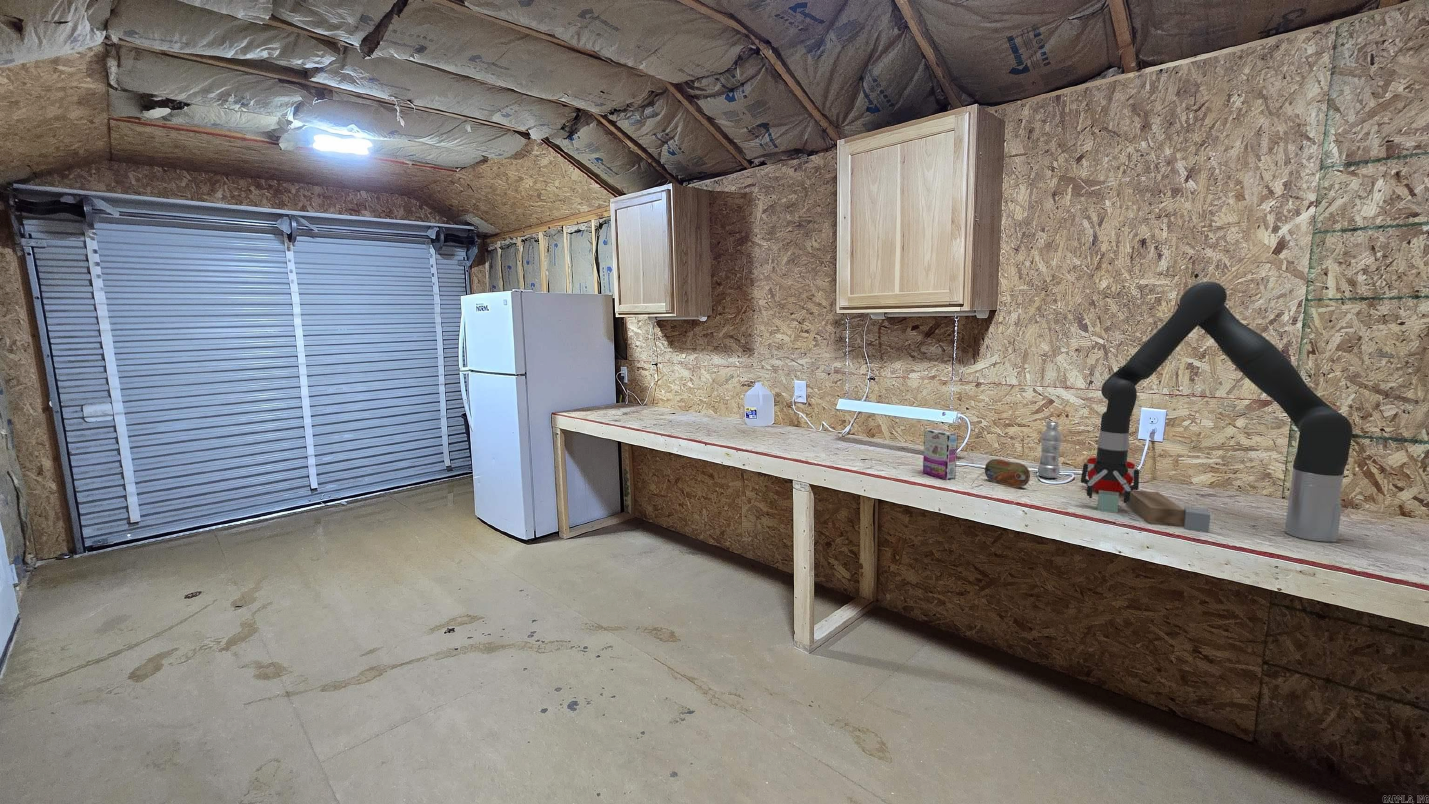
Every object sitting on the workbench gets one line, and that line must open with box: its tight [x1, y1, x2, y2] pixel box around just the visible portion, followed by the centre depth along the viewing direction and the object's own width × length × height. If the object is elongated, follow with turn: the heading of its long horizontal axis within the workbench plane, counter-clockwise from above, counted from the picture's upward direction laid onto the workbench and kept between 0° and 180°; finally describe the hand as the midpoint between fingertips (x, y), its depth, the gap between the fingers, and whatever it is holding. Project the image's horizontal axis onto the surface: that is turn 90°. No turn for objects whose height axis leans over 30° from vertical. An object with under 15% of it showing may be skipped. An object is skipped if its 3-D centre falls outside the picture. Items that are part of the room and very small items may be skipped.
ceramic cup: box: [1086, 457, 1136, 495], centre depth 193 cm, size 13×17×10 cm
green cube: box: [1096, 490, 1120, 514], centre depth 177 cm, size 5×5×5 cm
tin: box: [984, 458, 1031, 489], centre depth 204 cm, size 15×3×8 cm, turn 33°
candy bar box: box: [922, 428, 959, 481], centre depth 215 cm, size 11×5×16 cm, turn 27°
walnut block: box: [1125, 490, 1185, 528], centre depth 172 cm, size 8×18×5 cm, turn 163°
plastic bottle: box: [1037, 420, 1063, 479], centre depth 212 cm, size 6×7×20 cm
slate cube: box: [1183, 506, 1211, 533], centre depth 162 cm, size 5×5×5 cm
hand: (1107, 500), depth 178 cm, fingers open, 8 cm apart
